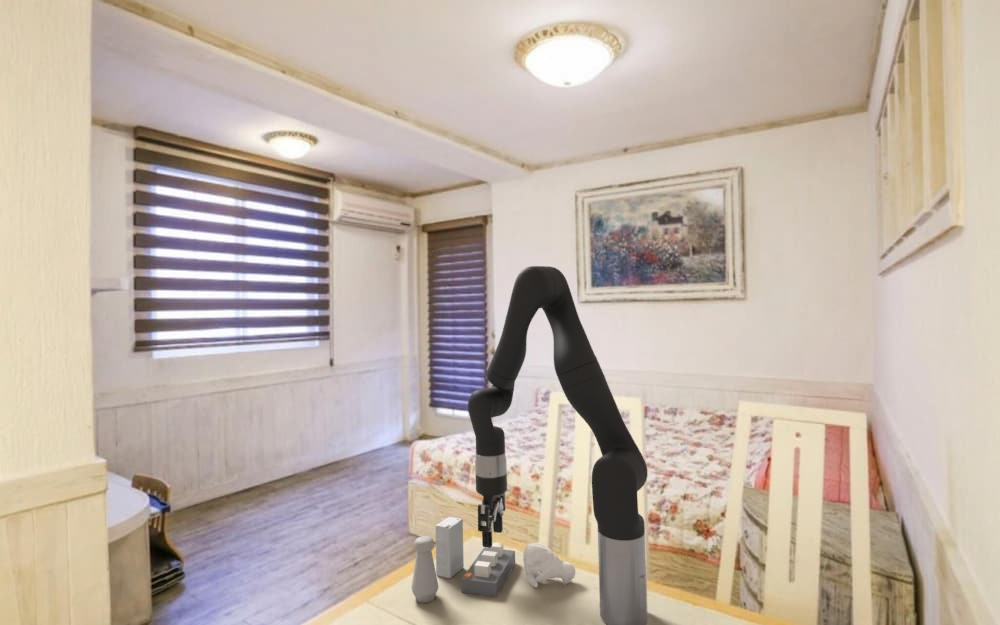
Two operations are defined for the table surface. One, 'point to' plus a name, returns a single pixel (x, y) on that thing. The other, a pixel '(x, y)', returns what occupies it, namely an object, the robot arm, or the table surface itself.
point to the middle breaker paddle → (490, 557)
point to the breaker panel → (494, 577)
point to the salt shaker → (424, 571)
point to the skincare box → (449, 547)
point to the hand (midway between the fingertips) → (492, 539)
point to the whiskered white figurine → (545, 565)
